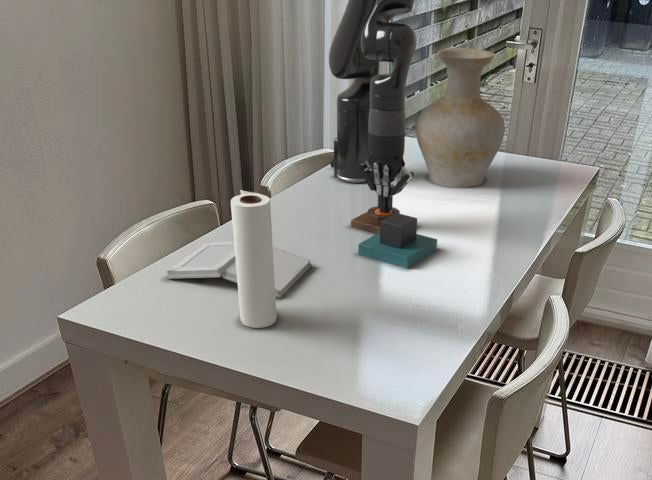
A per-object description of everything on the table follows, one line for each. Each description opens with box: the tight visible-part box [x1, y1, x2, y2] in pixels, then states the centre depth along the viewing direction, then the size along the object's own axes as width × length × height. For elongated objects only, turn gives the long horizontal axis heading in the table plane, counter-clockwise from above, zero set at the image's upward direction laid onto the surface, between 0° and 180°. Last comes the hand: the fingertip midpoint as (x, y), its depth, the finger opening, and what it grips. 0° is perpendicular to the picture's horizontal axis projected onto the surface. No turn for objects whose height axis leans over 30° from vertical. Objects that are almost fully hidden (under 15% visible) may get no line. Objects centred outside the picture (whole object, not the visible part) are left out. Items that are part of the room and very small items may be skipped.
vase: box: [415, 47, 506, 189], centre depth 189 cm, size 22×22×30 cm
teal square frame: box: [357, 232, 438, 270], centre depth 156 cm, size 12×12×2 cm
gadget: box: [166, 241, 312, 299], centre depth 145 cm, size 23×15×4 cm, turn 73°
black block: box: [380, 213, 418, 248], centre depth 155 cm, size 5×6×7 cm
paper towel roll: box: [230, 189, 278, 329], centre depth 125 cm, size 7×6×21 cm
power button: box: [374, 209, 393, 215], centre depth 167 cm, size 4×4×2 cm
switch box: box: [350, 205, 401, 235], centre depth 167 cm, size 11×9×4 cm
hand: (384, 211), depth 166 cm, fingers closed
